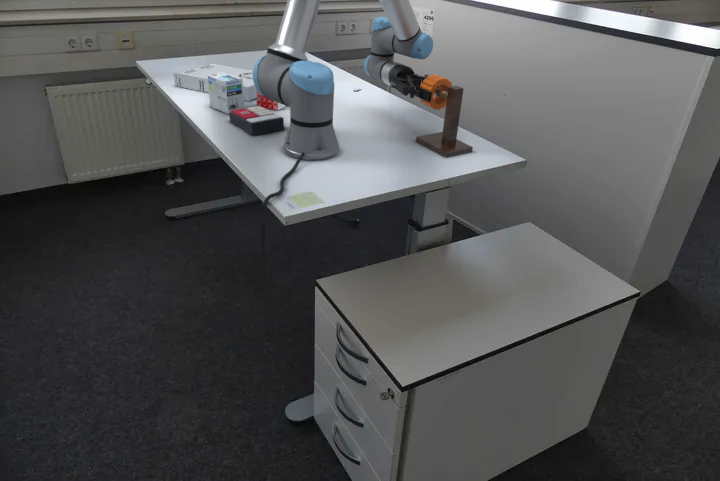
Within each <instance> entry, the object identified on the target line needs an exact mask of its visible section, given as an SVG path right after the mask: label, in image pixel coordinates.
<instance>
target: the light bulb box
mask: <svg viewBox="0 0 720 481" xmlns="http://www.w3.org/2000/svg"><path fill="white" fill-rule="evenodd" d="M207 76H208V86H209V93H208V96H209V108H212V109H215V110H217V111H220V112H223V113H224V114H227V115H229V113H230V112H231V111H232V110H238V109H245V100H244V95H243V79H242V78H239V77H236V76H233V75H230V74H227V73H224V72H222V73H215V74H209V75H207Z"/></svg>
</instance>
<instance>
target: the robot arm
mask: <svg viewBox="0 0 720 481" xmlns="http://www.w3.org/2000/svg"><path fill="white" fill-rule="evenodd" d="M321 2H322V0H287V1H286V4H285V8H284V11H283V15H282V18H281V22H280V25H279V29H278V33H277V36H276V39H275V42H274V43H273V44H271V45H269V46H268V47H267V51H266V54H265V55H263V56H261V57H260V58H259V59H258V60H257V61H256V62H255V64H254V66H253V69H252V71H253V81H254V85H255V87H256V89H257V90H258V92H259V93H260V94H261V95H263V96H265V97H266V98H268V99H269V100H272V101H276V102H278V103H280V104H283V105H285V107H288V108H289V116H290V117H289V119H290V121H289V126H288V130H287V133H286V136H285V138H284V139H285V140H284V143H283V151H284V153H286V155H288V156H289V157H292V158H293V159H294V158H295V159H297V160H296V161H295V163H294V165H293V166H292V168H291V169H290V170H289V171H288V172H287V173H285V174H284V175H283V176H282V177H281V179H280V185H279V186H280V187H279V190H278V191H276V192H272V193H270V194H268V195H267V196H266V197H265V199H264V200H263V202H262V205H261V206H262V207H267V205H268V202H269V201H270V200H271V199H273V198H275V197H279V196H281V195H282V194H283V193H284V191H285V185H284V184H285V183H284V182H285V181H286V179H287V178H289V177H290V176H291V175H292V174H293V173H294V172H295V171H296V170H297V168H298V166H299V164H300V163H301V161H302V160H304V161H322V160H327V159H330V158H333V157H335V156H337V155H338V154H339V151H340V149H339V148H340V145H339V140H338V137H337V134H336V130H335V128H334V99H335V81H334V80H335V79H334V76H335V75H334V73H333V70H332V69H331V68H330V67H329V66H327V65H326V64H323V63H321V62H317V61H312V60H309V59H308V58H307V55H306V52H307V49H308V46H309V42H310V39H311V35H312V32H313V28H314V25H315V22H316V20H317V19H316V18H317V15H318V12H319V9H320V6H321ZM378 2H379V3H380V6H381V8H382V10H383V12H384V15H385V16H377V17H375V18H373V20H372V27H371V41H370V42H371V43H370V44H371V46H370V54H369V55H368V56H366V58H365V60H364V63H363V69H364V72H365V74H366V75H367V76H368V77H370V78H372V79H373V80H374V81H378V82H381V83H384V84H385V85H387V86H389V87H390V88H392V89H395V90H397V91H398V92H399V93H401V95H403V96H405V97H408V96H409V99H414V98H415V97H416V98H418V99H420V98H421V99H423V100H425V101H427V102H431V96H432V92H430V91H428V90H425V89H423V88H421V87H420V85H421V84H422V83H423V80H424V79H426V78H427V77H428V76H430V75H429V74H424V75H419V74H418V73H415V71H414V70H413V68H412V67H410V66H408V65H405V64H403V63H401V62H398V61H396V60H394V56H395V54H398V55H400V56H401V55H402V56H404V57H408V58H411V59H417V60H422V61H423V60H426V59H428V58H429V57H430V55H431V54H432V52H433V49H434V39H433V37H432V36H431V34H428V33H426V32H422V30H421V27H420V24H419V21H418V20H417V17H416V15H415V12H414V9H413V7H412V5H411V2H410V0H378ZM437 88H439V86H438V87H437ZM421 99H420V100H421ZM260 235H261V238H260V239H261V240H260V241H261V242H260V244H261V245H260V246H261V248H260V249H261V251H260V252H261V255H260V257H261V279H262V282H261V283H262V296H263V297H262V298H263V312H264V313H263V314H264V315H263V316H264V323H265V324H267V323H269V317H268V314H269V313H268V294H267V278H266V277H267V276H266V275H267V274H266V246H265V245H266V224H264V223H263V224H261V234H260Z"/></svg>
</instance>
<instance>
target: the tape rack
mask: <svg viewBox="0 0 720 481" xmlns="http://www.w3.org/2000/svg"><path fill="white" fill-rule="evenodd" d="M433 94H434V96H436V95H437V96H439V97H442V98H444V99H446V100H447V103H446V106H445V112H444V119H443V126H442V131H440V132H434V133H428V134H423V135H417V136H416V137H415V142H416V143H418V144H420V145H422V146H424V147H425V148H427V149H429V150H430V151H433V152H434V153H437V154H438V155H440V156H442V157H443V158H449V157H450V158H451V157H453V156H459V155H463V154H468V153H472V152H473V148H474V147H473V146H472V145H469V144H467V143H465V142H464V141H461V140H460V139H457V137H458V132H459V125H460V116H461V109H462V104H463V97H464V96H463V95H464V87H461V86H458V85H453V86H451V87H448V92H446V91H444V90H441V89H439V88H437V89H435V92H434V93H433Z"/></svg>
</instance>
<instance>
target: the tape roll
mask: <svg viewBox="0 0 720 481" xmlns="http://www.w3.org/2000/svg"><path fill="white" fill-rule="evenodd" d="M438 86H439V89H441V90H444V91H446V92H448V87H451V86H454V85H453V83H452V81H451V80H449V78H447V77H444V76H441V75H439V74H438V75H437V74H430V75H429V76H428V77H427V78H426V79H424V80H423V83H422V82H421V85H420V87H421V88H423V89H425V90H428V91H430V92H432V96H431V102H427V101H425V100H423V99H421V98H419V100H420V103H421V104H423V105H424V106H427V107H429V108H431V109H433V110H435V111H437V110H439V111H440V110H442V109H446V103H447V100H446V99H444V98H442V97H439V96H437V95H435V94H433V93H434V92H435V89H437V87H438Z"/></svg>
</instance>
